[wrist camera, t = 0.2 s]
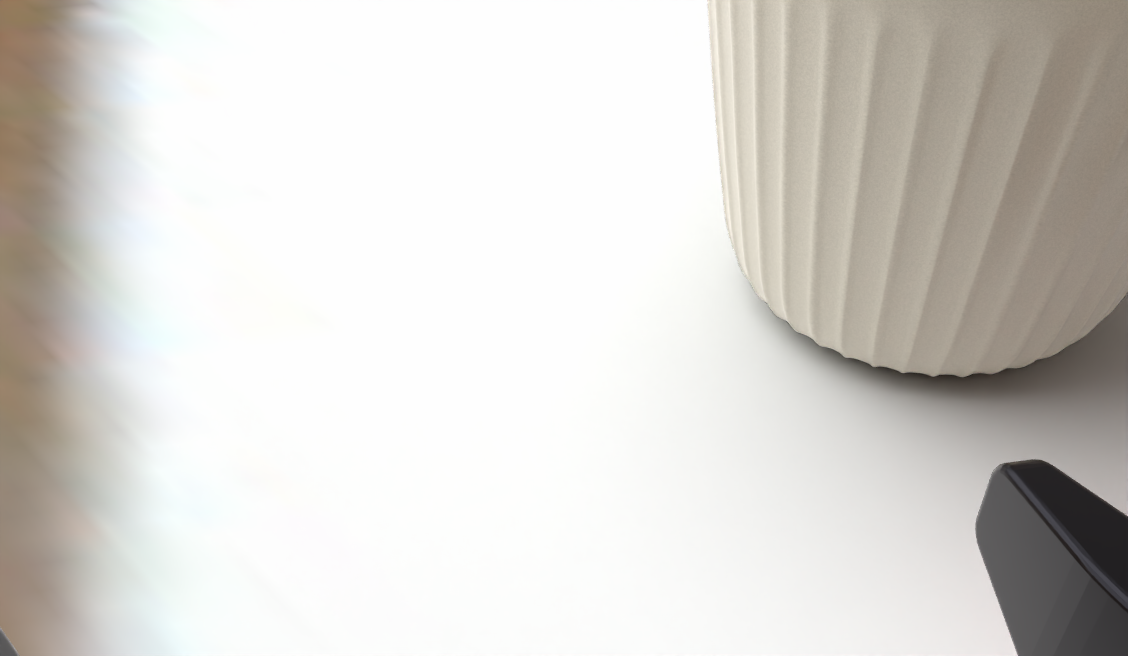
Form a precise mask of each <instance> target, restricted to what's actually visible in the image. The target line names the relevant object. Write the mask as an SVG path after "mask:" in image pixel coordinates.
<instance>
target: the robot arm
mask: <svg viewBox="0 0 1128 656" xmlns="http://www.w3.org/2000/svg"><path fill="white" fill-rule="evenodd" d="M976 538H977V543H978V546H979V549H980V552H981V555H982V558H983V560H984V563H985V566H986V569H987V572H988V574H989V577H990V580H991V583H992V585H993V588H994V591H995V594H996V596H997V599H998V602H999V605H1000V607H1001V610H1002V613H1003V616H1004V618H1005V621H1006V624H1007V627H1008V630H1009V632H1010V635H1011V638H1012V641H1013V643H1014V646H1015V649H1016V652H1017V654H1018V656H1128V516H1126V515H1125V514H1123V513H1122V512H1120V511H1119V510H1118V509H1116V508H1115V507H1113V506H1112V505H1110V504H1109V503H1107V502H1106V501H1104V500H1103V499H1101V498H1100V497H1098V496H1097V495H1095V494H1094V493H1093V492H1091V491H1090V490H1088V489H1087V488H1085V487H1084V486H1082V485H1081V484H1079V483H1078V482H1076V481H1075V480H1073V479H1072V478H1070V477H1069V476H1067V475H1066V474H1065V473H1063V472H1062V471H1060V470H1059V469H1057V468H1056V467H1054V466H1053V465H1051V464H1049V463H1047V462H1045V461H1042V460H1025V461H1018V462H1010V463H1004V464H1000V465H999V466H998V467H996V468H995V469H994V470H993V472H992V474H991V477H990V480H989V483H988V486H987V489H986V492H985V495H984V498H983V501H982V504H981V507H980V510H979V513H978V516H977V519H976ZM0 656H19V654H18V652H17V651H16V649H15V648H14V646H13V645H12V643H11V642H10V641H9V639H8V638H7V636H6V635H5V633H4V632H3V630H2V629H1V628H0Z"/></svg>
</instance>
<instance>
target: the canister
mask: <svg viewBox="0 0 1128 656" xmlns="http://www.w3.org/2000/svg"><path fill="white" fill-rule="evenodd" d="M707 3H708V19H709V36H710V52H711V66H712V79H713V93H714V106H715V118H716V130H717V141H718V152H719V162H720V172H721V182H722V193H723V202H724V212H725V219H726V225H727V230H728V234H729V238H730V241H731V244H732V247H733V249H734V251H735V255H736V258H737V261H738V263H739V266H740V268H741V270H742V272H743V274H744V275H745V277H746V278H747V279H748V280H749V282H750V284H751V286H752V288H753V289H754V291H755V293H756V294H757V295H758V296H759V298H760V299H762V300H763V301H764V302H765V303H767V304H768V305H769V307H770V309H771V310H772V312H773V313H774V314H775V315H776V316H778V317H779V318H781V319H783V320H786V321H787V322H788V323H789V324H790V325H791V327H792V328H793V329H794V330H795V331H796V332H797V333H800V334H803V335H806V336H808V337H810V338H812V339H813V340H814V341H815V342H816V343H817V344H818V345H819V346H821V347H828V348H831V349H833V350H835V351H837V352H839V353H841V355H842V356H844V357H845V358H854V359H858V360H861V361H864V362H866V363H868V364H870V365H871V366H873V367H878V366H880V367H887V368H891V369H895V370H897V371H899V372H901V373H907V372H914V373H922V374H927V375H929V376H932V377H934V376H938V375H945V374H948V375H955V376H959V377H965V376H969V375H971V374H975V373H985V374H995V373H998V372H1000V371H1002V370H1004V369H1006V368H1021V367H1025V366H1027V365H1029V364H1031V363H1033V362H1034V361H1036V360H1038V359H1044V358H1048V357H1050V356H1053V355H1055V354H1057V353H1058V352H1060V351H1061V350H1063V349H1064V348H1065V347H1067V346H1068V345H1071V344H1073V343H1075V342H1077V341H1079V340H1080V339H1081V338H1083V337H1084V336H1086V335H1087V334H1088V333H1089V332H1090V331H1091V330H1092V329H1094V328H1095V327H1096V326H1097V324H1098V323H1099V322H1101V321H1102V320H1103V319H1104V318H1106V317H1107V316H1108V315H1109V314H1110V313H1111V312H1112V311H1113V310H1114V309H1115V308H1116V306H1117V305H1118V304H1119V303H1120V302H1121V300H1122V299H1123V298H1124V297H1125V295H1126V294H1127V292H1128V0H707Z"/></svg>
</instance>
